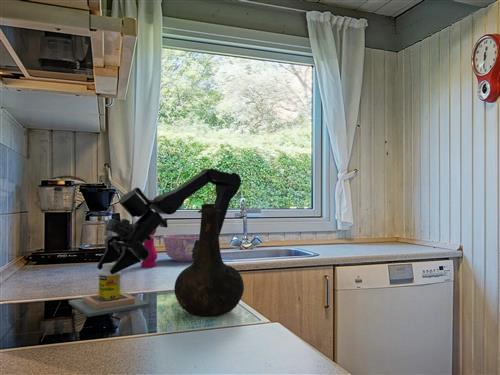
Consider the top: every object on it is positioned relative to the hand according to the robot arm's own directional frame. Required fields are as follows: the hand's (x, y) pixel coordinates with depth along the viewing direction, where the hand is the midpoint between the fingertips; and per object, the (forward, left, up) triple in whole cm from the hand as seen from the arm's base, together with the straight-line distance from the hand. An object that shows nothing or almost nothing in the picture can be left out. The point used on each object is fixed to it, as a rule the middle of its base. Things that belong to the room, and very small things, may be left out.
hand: (104, 270), depth 108 cm
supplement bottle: (-1, -1, -9) cm, 9 cm away
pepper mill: (+30, -56, -10) cm, 65 cm away
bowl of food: (+27, -78, -10) cm, 84 cm away
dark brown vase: (-29, -7, -10) cm, 31 cm away
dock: (-1, -1, -9) cm, 9 cm away
